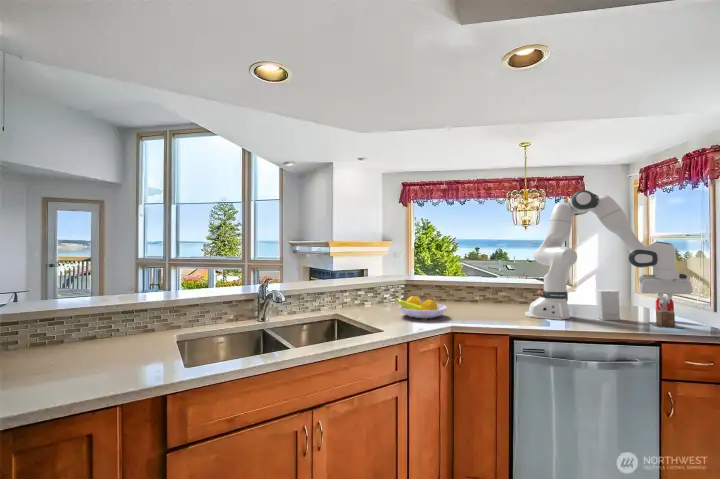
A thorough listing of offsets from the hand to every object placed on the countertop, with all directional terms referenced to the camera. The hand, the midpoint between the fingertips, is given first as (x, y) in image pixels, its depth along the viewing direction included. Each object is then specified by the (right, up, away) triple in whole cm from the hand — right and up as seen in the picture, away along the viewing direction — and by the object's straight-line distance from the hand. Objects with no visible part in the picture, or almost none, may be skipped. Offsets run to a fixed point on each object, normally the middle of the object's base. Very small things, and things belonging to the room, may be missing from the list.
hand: (665, 303), depth 172 cm
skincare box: (-18, -12, +15) cm, 26 cm away
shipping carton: (0, -11, 0) cm, 11 cm away
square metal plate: (0, -11, 0) cm, 11 cm away
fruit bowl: (-116, -13, +27) cm, 119 cm away
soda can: (+8, -11, +10) cm, 17 cm away
